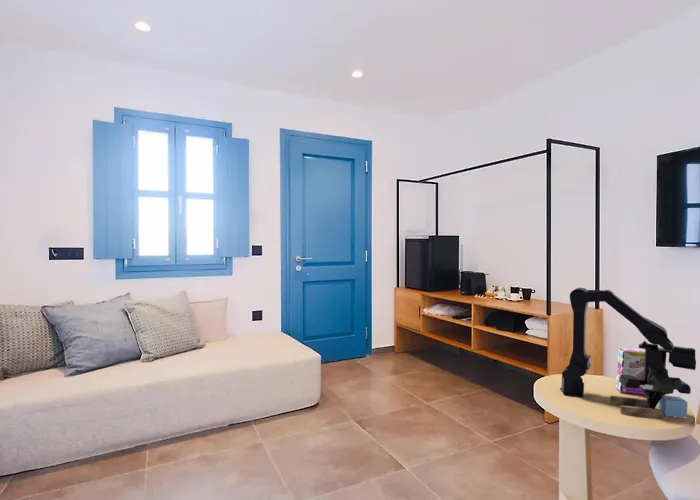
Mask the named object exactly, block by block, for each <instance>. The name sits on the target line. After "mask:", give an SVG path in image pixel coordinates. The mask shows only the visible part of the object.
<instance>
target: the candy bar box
mask: <svg viewBox="0 0 700 500" xmlns="http://www.w3.org/2000/svg"><path fill="white" fill-rule="evenodd" d="M644 360H645V349H642V348H629V347H626V348H625V347H618V348H617V363H616V377H615V389H616V390H617V391H618V392H619V393H621V394H622V393H623V394H629V395H640V396H645V394H644V392H643V390H642V389H641V388H640V387H638V388H637V389H636V388H627V387H625V386H624V385H623V384H621V383H620V382H619V377H620V376H621V375H622V374H623V375H633V376H634V377H635V378H637V379H642V380H643V378H642V375H644V366H642V364H643V363H644Z"/></svg>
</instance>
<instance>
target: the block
mask: <svg viewBox="0 0 700 500" xmlns="http://www.w3.org/2000/svg"><path fill="white" fill-rule="evenodd" d="M688 405H689V404H688V401H686V400H685V399H684V398H682V397H681V396H674V395H667V394H666V395H664V396H662V398H661V399H660V400H659V402H658V409H661V410H663V416H665V417H668V416H674V417H673V418H677V417H687V416H688ZM675 416H676V417H675ZM687 418H688V417H687Z"/></svg>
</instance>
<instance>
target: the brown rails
mask: <svg viewBox="0 0 700 500" xmlns="http://www.w3.org/2000/svg"><path fill="white" fill-rule="evenodd" d="M609 397H610V398H609V403H610V404H611V405H619V413H620V415H628V416H637V417H643V418H644V417H646V418H653V419H654V418H655V419H664V415H663V410H661V409H657V408H655V409H652V408H650V406H649V403H648V401H647V398H646V399H645V398H636V397H627V396H626V397H625V396H618V395H610V396H609Z"/></svg>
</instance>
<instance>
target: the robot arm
mask: <svg viewBox="0 0 700 500" xmlns="http://www.w3.org/2000/svg"><path fill="white" fill-rule="evenodd" d="M569 301H570V305H571V309H572V312H573V314H572V315H573V316H572V317H573V318H572V319H573V320H572V321H573V323H572V324H573V325H572V328H573V331H572V351H571V352H572V353H571V355H570V359H569V364H568V365H567V366H566V367H565V368H564V369H563V370H562V372H561V387H560V388H559V390H560V391H561V392H562V394H563V395H564V396H569V397H571V396H572V397H579V398H584V397H585V396H584V393H585V382H584V381H583V378H582V377H583V376H585V375H586V374H587V371H589V370H590V368H591V366H592V364H591V354H587V351H586V324H587V323H586V320H587V317H586V316H587V315H586V314H587V310H588V308H589V307H588V306H589V303H597V302H599V303H600V302H603V303H606V304H607V305H608V306H609V307H611V308H612V309H613V310H615V311H616V312H617V313H619V314H620V315H621V316H622V317H624V318H625V319H626V320H628V321H629V322H630V323H631V324H632V325H634V326H635V328H637V330H638V331H639V333H641V335H642V336H643V337H644V338H645V340H643V341H642V342H641V343H639V344H638V349H642V350H645V360H644V363H643V364H642V366H644V375H642V378H643V380H642V379H637V378H635V377H634V376H633V375H623V374H622V375H621V376H620V377H619V382H620V383H621V384H623V385H624V386H625V387H627V388H636V389H637V388H638V387H640V388H641V389H642V390H643V392H644V394H645V395H644V396H645V398H646V399H647V401H648V403H649V406H650V408H652V409H657V406H658V405H659V400H660V399H661V398H662V396H664V395H666V396H667V395H670V394H674V391H675V390H676V391H677V392H678V393H679V394H687V395H690V394H691V389H692V388H691V386H690V385H689V384H688V383H686V382H685V381H683V380H682V379H681V378H679V377H672V376H669V371H668V368H666V367H667V354H668V363H669V364H670V365H672V367H675V368H680V369H686V370H692V371H696V367H697V360H696V348H693V347H684V346H683V347H682V346H675V345H674V343H673V341H671V340H670V339H669V337H668V331H667V330H666V328H665V327H664V326H663V325H660V324H658V323H656V322H655V321H653V320H651V319H649V318H647V317H645V316H643V315H642V314H640V313H639V311H637V310H635V309H634V308H633V307H631V306H630V305H629V304H628V303H626V302H625V301H624V300H622V299H621V298H620V297H619V296H617V295H616V294H615V293H614V292H613V291H612V290H610V289H603V290H601V289H586V287H585V288H584V287H576V288H575V289H573V290H572V291H571V292H570V293H569ZM646 340H647V341H646ZM648 342H649V343H648Z"/></svg>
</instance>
